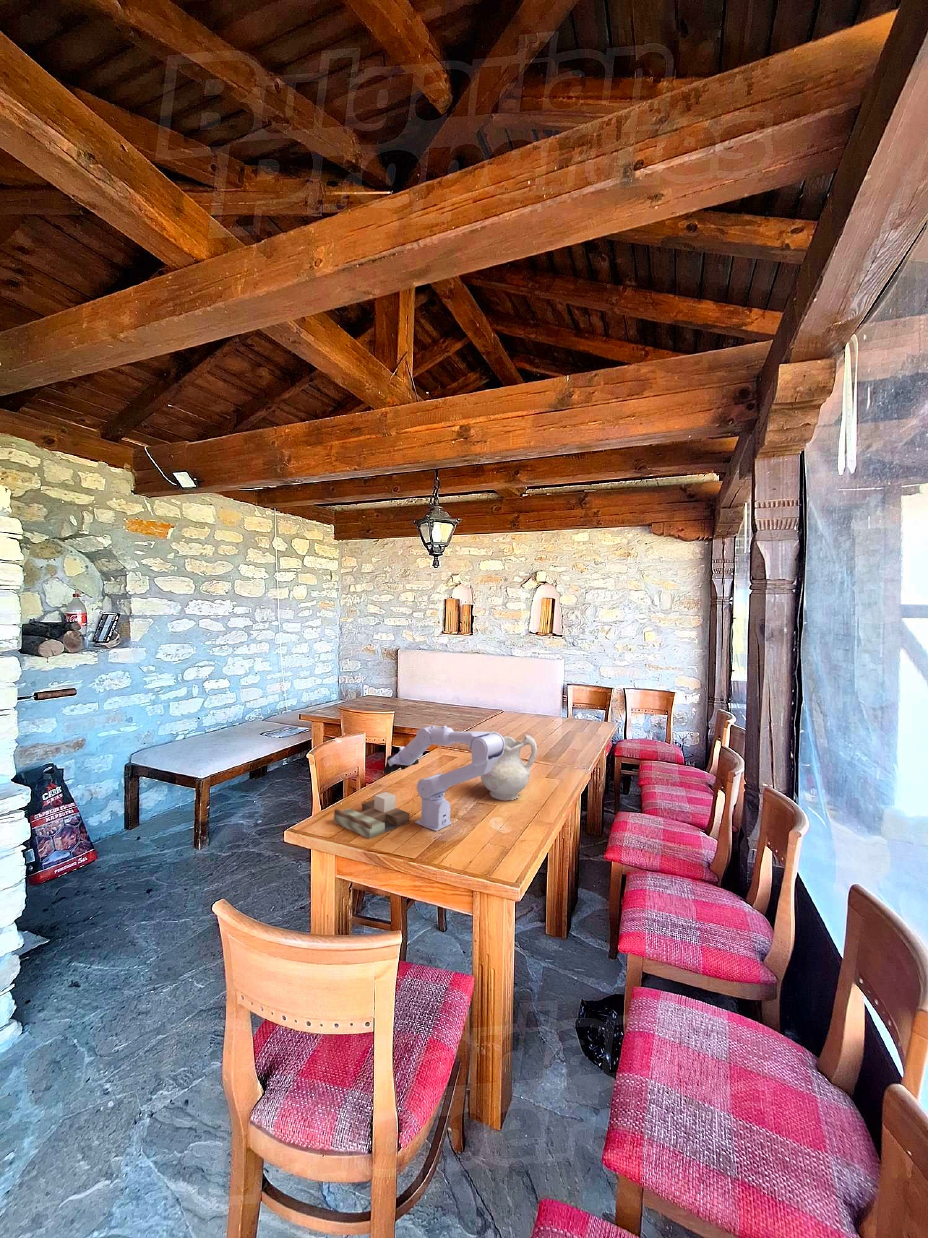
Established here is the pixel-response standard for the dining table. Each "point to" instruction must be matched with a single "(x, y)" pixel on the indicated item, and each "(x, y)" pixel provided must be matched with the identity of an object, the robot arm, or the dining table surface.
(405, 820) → the box
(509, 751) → the ceramic pitcher
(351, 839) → the dining table surface
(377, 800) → the cream block
